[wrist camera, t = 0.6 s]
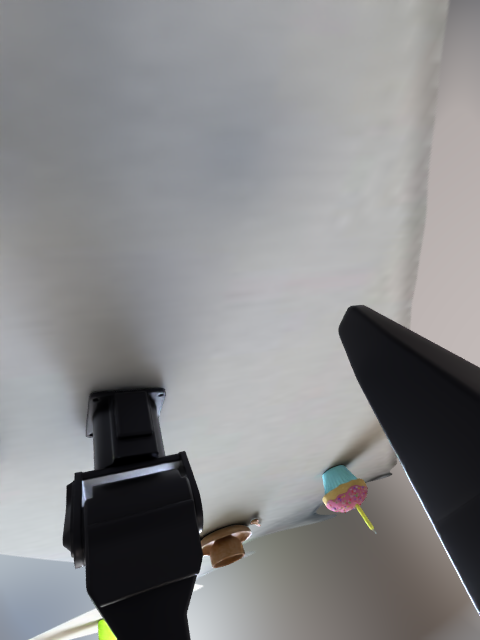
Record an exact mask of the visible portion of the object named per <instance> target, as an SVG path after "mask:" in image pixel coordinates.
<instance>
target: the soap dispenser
mask: <svg viewBox="0 0 480 640" xmlns="http://www.w3.org/2000/svg"><path fill="white" fill-rule="evenodd" d="M98 632H99V640H117V639H116V637H115V636H114V634H113V633H112V631H111V630H110V628H109V627H108V625H107V623H106V622H105V620H104V619H102V620H100V621H99V622H98Z"/></svg>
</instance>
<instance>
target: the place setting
mask: <svg viewBox="0 0 480 640" xmlns="http://www.w3.org/2000/svg"><path fill="white" fill-rule="evenodd" d="M258 522H259V520H258V519H254V520H252V521H251V523H250V524H256V525H257V526H261V525H260V524H258ZM251 534H252V533H251V530H250V529H249V527H247V526H244V525H232V526H228V527H225V528H222V529H219V530H217V531H215V532H213V533H211V534H209V535H207V536H206V537H204V538H203V539H202V540H201V547H202V551H203V556H208V555H210V559H211V564H212V567H213V568H219V567H223V566H226V565H229V564H231V563H233V562H236V561H237V560H239V559H241V558H242V557H244V555H245V552H244V549H243V545H242V542H244V541H245V540H246V539H248V538H249V537H250V536H251Z"/></svg>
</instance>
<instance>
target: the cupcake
mask: <svg viewBox="0 0 480 640" xmlns="http://www.w3.org/2000/svg"><path fill="white" fill-rule="evenodd" d="M322 477H323V482H324V488H325V495H324V497H323V499H322V500H323V502H324V504H325V505H326V507H327V508H328V509H329V510H331V511H335V512H339V513H341V512H344V513H346V512H347V511H350V510H353V509H354V508H357V510H358V511H359V513H360V514H361V516H362V517H363V519H364V520H365V522H366V523H367V525H368V526H369V528H370V529H371V530H373V531H374V532H375V530H374V527H373V526H372V524H371V522H370V521H369V520H368V518H367V516H366V515H365V514H364V512H363V511H362V509H361V508H360V506H359V505H361V503H362V502H363V501H364V500H365V498H366V496H367V491H368V490H367V489H368V488H367V486H366V484H365V482H364V480H362V479H357V478H356V477H355V476H354V475H353V474H352V473H351V472H350V471H349V470H348V469H347V468H346V467H345V466H344V465H339V466H336V467H333V468H331V469H329V470H328V471H326V472H325V473H324V474H323V476H322ZM375 533H376V532H375Z"/></svg>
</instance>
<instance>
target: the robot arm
mask: <svg viewBox="0 0 480 640" xmlns="http://www.w3.org/2000/svg"><path fill="white" fill-rule="evenodd" d="M339 336H340V338H341V341H342V343H343V346H344V348H345V351H346V353H347V356H348V358H349V361H350V363H351V366H352V368H353V371H354V373H355V376H356V378H357V380H358V382H359V384H360V386H361V388H362V390H363V392H364V394H365V396H366V398H367V400H368V402H369V404H370V406H371V407H372V409H373V411H374V413H375V415H376V417H377V419H378V421H379V423H380V425H381V427H382V429H383V431H384V432H385V434H386V436H387V438H388V440H389V442H390V444H391V446H392V448H393V450H394V452H395V454H396V455H397V457H398V459H399V461H400V463H401V465H402V467H403V469H404V471H405V473H406V475H407V477H408V478H409V480H410V482H411V484H412V486H413V488H414V490H415V492H416V494H417V496H418V498H419V499H420V501H421V503H422V505H423V507H424V509H425V511H426V513H427V515H428V517H429V519H430V520H431V523H432V524H433V525H434V526H433V527H434V529H435V531H436V533H437V535H438V537H439V538H440V540H441V542H442V544H443V546H444V548H445V550H446V552H447V554H448V556H449V558H450V559H451V562H452V563H453V565H454V567H455V569H456V571H457V573H458V575H459V577H460V579H461V581H462V583H463V584H464V586H465V588H466V590H467V592H468V594H469V596H470V598H471V600H472V602H473V604H474V606H475V608H476V609H477V611H478V613H479V615H480V368H479V367H478V366H476V365H474V364H472V363H470V362H468V361H466V360H465V359H463V358H461V357H459V356H457V355H455V354H453V353H452V352H450V351H448V350H446V349H444V348H442V347H440V346H439V345H437V344H435V343H433V342H431V341H429V340H428V339H426V338H424V337H422V336H420V335H418V334H416V333H414V332H413V331H411V330H409V329H407V328H405V327H403V326H402V325H400V324H398V323H396V322H394V321H392V320H391V319H389V318H387V317H385V316H383V315H381V314H379V313H378V312H376V311H374V310H372V309H370V308H368V307H366V306H364V305H356V306H350V307H349V308H348V309H347V311H346V313H345V315H344V317H343V319H342V321H341V323H340V325H339ZM165 396H166V392H165V389H163V388H157V389H141V390H126V391H110V392H95V393H92V394H91V395H90V396H89V404H88V414H87V424H86V437H88V438H93V446H94V470H93V471H88V472H83V473H82V472H77V473H75V479H74V481H73V482H72V483H70V484H69V485H67V494H66V514H65V523H64V531H63V546H64V547H66V548H67V549H68V550H69V551H71V556H72V557H74V564H75V568H80V567H83V566H86V588H87V592H88V594H89V596H90V598H91V600H92V602H93V604H94V605H95V607H96V608H97V610H98V611H99V613H100V614H101V616H102V617H103V619H104V620H105V622H106V623H107V625H108V627H109V628H110V630H111V631H112V633H113V634H114V636H115V637H116V639H117V640H190V633H189V627H188V620H187V610H188V606H189V603H190V599H191V595H192V592H193V588H194V584H195V581H196V577H197V574H199V571H200V568H201V563H202V558H203V551H202V547H201V541H200V535H199V532H201V531H202V529H203V510H202V503H201V498H200V494H199V490H198V487H197V484H196V481H195V478H194V475H193V472H192V470H191V467H190V464H189V461H188V458H187V455H186V452H185V451H183V452H179V453H178V454H174V455H169V456H165V452H164V446H163V441H162V435H161V430H160V424H159V419H158V418H159V415H160V411H161V408H162V405H163V402H164V399H165Z"/></svg>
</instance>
